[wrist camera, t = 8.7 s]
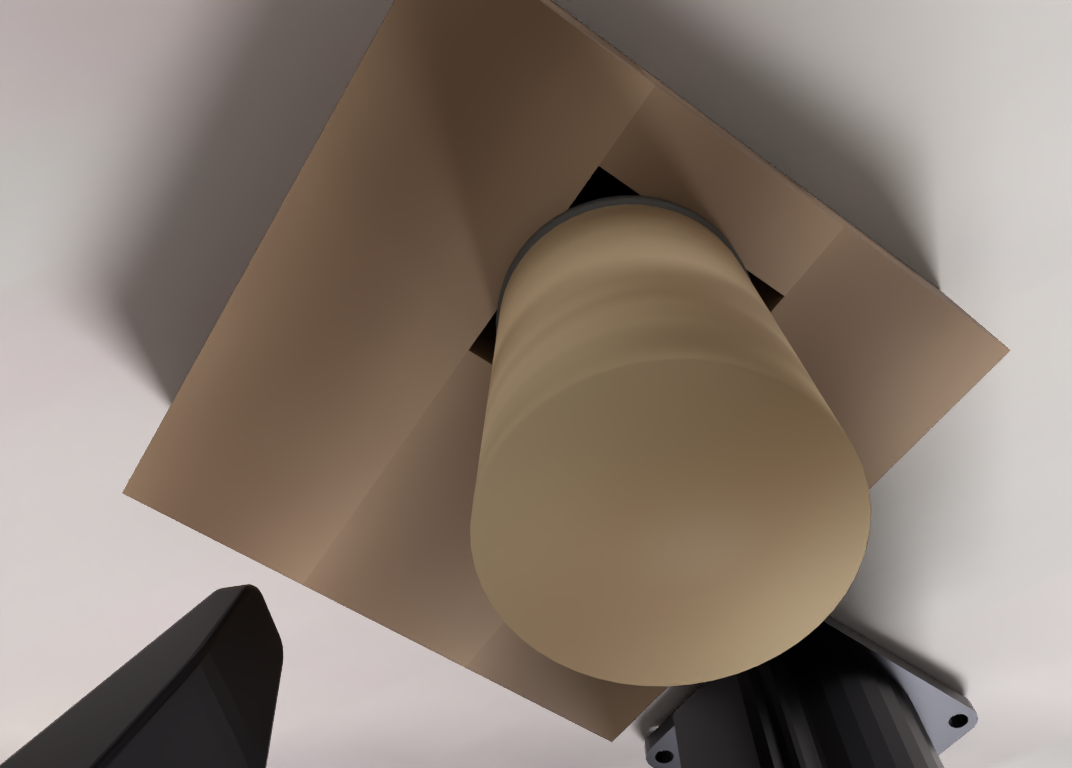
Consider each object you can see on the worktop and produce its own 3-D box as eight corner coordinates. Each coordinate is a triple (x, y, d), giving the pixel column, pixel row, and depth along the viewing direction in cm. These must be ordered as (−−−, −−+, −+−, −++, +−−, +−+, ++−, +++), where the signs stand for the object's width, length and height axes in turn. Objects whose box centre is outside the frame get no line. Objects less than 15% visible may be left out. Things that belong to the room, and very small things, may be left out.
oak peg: (771, 245, 17) (964, 495, 9) (635, 408, 19) (699, 741, 11) (589, 114, 16) (626, 268, 8) (462, 300, 18) (390, 579, 10)
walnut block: (942, 292, 18) (1010, 349, 15) (604, 648, 23) (611, 741, 20) (456, -70, 15) (437, -76, 13) (180, 420, 20) (122, 493, 17)
